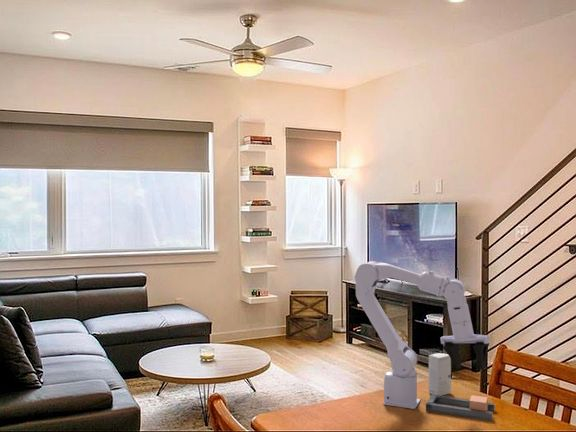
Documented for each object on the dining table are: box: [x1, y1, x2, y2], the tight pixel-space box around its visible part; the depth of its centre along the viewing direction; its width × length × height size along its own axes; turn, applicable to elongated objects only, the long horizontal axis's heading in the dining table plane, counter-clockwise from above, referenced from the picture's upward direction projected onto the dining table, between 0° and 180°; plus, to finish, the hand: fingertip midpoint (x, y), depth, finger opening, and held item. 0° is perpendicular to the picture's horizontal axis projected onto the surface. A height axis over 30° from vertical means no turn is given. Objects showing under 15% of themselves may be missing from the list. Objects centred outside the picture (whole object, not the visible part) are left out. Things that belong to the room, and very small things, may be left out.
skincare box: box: [428, 352, 452, 396], centre depth 173 cm, size 6×4×12 cm
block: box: [469, 394, 489, 411], centre depth 156 cm, size 4×5×4 cm
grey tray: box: [425, 394, 496, 422], centre depth 158 cm, size 18×9×2 cm, turn 65°
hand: (470, 368), depth 156 cm, fingers open, 7 cm apart
